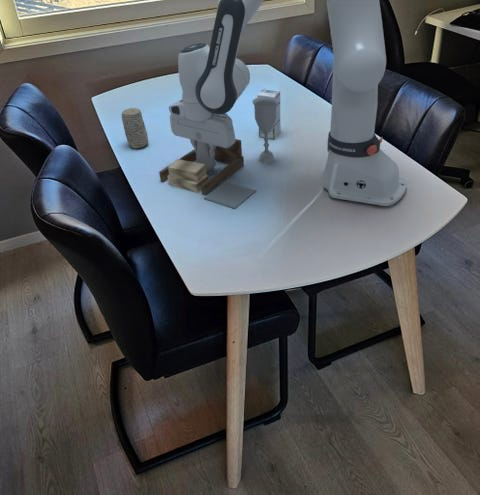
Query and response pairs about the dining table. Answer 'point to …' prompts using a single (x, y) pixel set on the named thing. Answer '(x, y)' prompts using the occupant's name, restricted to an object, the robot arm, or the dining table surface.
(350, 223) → the dining table surface
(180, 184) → the offcut lower
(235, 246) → the dining table surface
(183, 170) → the offcut upper
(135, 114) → the carving
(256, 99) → the chalice
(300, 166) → the dining table surface
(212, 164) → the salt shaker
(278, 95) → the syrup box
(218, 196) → the slate mat
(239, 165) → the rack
